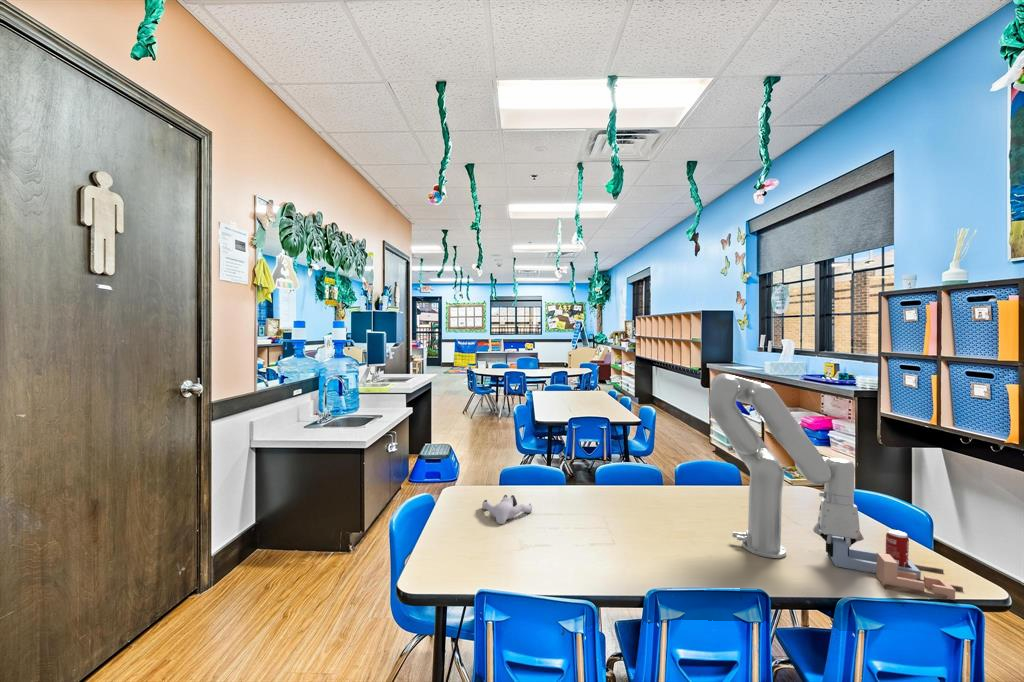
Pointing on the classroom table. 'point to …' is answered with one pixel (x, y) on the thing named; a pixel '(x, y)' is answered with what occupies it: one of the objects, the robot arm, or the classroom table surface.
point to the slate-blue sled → (861, 558)
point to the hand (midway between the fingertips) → (837, 555)
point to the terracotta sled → (896, 574)
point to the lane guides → (923, 581)
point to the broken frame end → (940, 587)
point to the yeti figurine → (506, 509)
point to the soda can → (898, 546)
